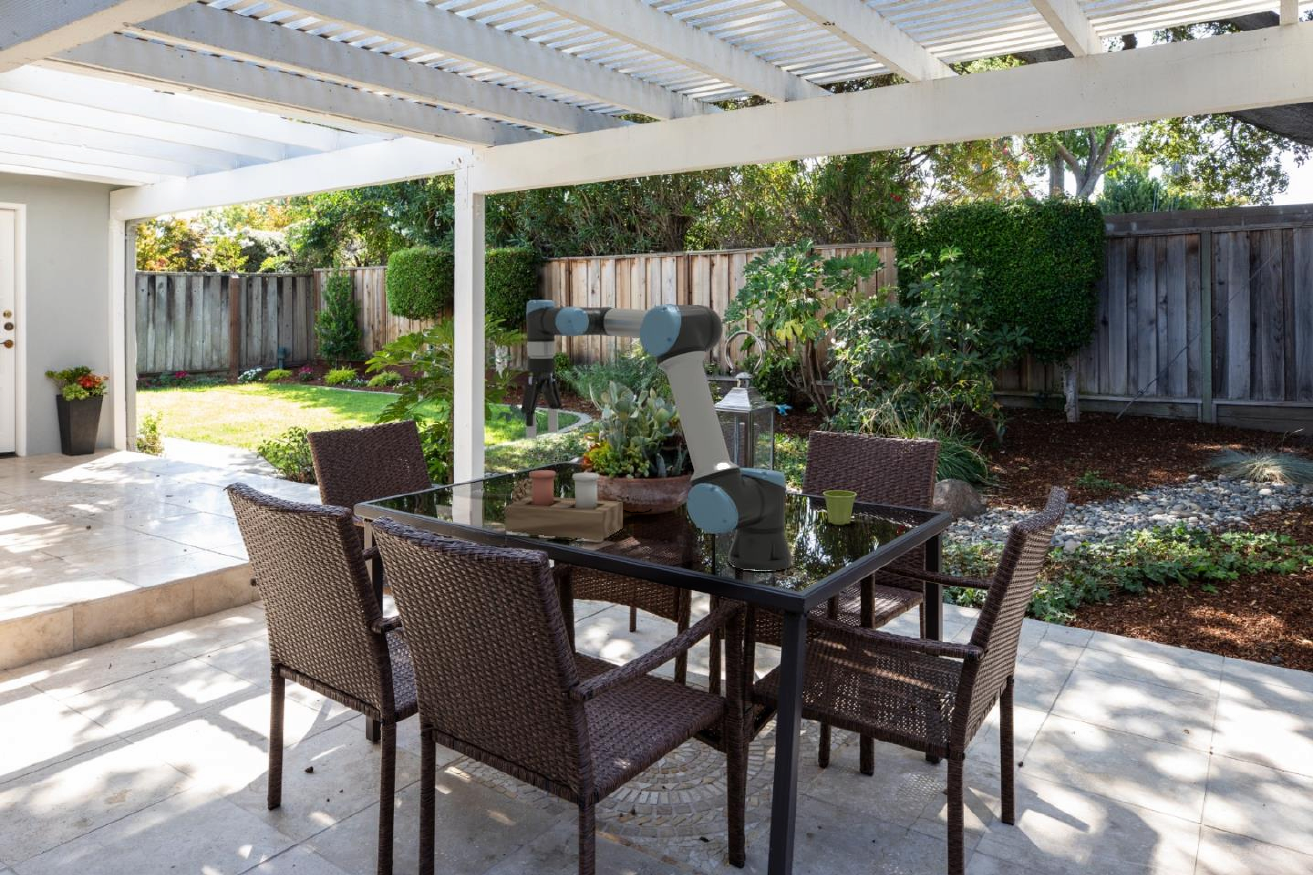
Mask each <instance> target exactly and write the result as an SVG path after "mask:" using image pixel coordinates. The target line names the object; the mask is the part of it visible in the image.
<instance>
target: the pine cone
mask: <svg viewBox="0 0 1313 875" xmlns="http://www.w3.org/2000/svg"><path fill="white" fill-rule="evenodd" d="M520 480H521V481H520ZM520 480H519V481H518V482H519V483H515V484H514V486H513V491H511V497H512V498H513V499H512V500H511V502H512V503H515V502H517V501H520V500H522V499H525V498H527V497H530V496H532V477H529V478H525V479H524V480H523V479H520Z"/></svg>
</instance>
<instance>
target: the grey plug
mask: <svg viewBox="0 0 1313 875" xmlns="http://www.w3.org/2000/svg"><path fill="white" fill-rule="evenodd" d="M572 480H573V481H574V499H575V508H580V509H596V508H597V500H598V480H600V474H599V473H596V472H577V473H576V472H575V473H573V474H572Z"/></svg>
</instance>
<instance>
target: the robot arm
mask: <svg viewBox="0 0 1313 875" xmlns="http://www.w3.org/2000/svg"><path fill="white" fill-rule="evenodd" d="M525 317H526V319H525V320H526V342H527V344H526V351H527V352H526V354H527V357H528V358H527V360H526V361H527V372H529V373H532V374H531V376H526V377H525V378H526V380H525V388H524V393H523V398H522V404H521V408H520V411H521V414H522V415H525V438H526V439H537V437H538V435H537V434H538V433H537V432H538V431H537V414H536V413H535V412H536V409H537V406H538V402H539V400H540V397H541V395H542V394H543V395H544V398H545V400H546V402H547V405H548V407H549V408H547V425H548V426H547V429H548V430H547V432H548V433H559V409H560V410H561V409H562V405H563V404H562V403H563V402H562V398H561V394H560V390H559V386H558V380H557V373H553V372H556V358H555V357H556V338H555V336H557V337H558V336H560V337H562V336H563V337H564V336H565V337H581V336H606V337H620V338H631V339H639V343H640V345H641V347H642V349H643V350H644V352H646V353H647V354H648V355H650V356H652V357H654V358H655V360H656V364H657V367H658V369H659V370H661V371H663V372H665V374H666V375H667V379H668V383H669V386H670V390H671V394H672V398H673V399H674V404H675V407H676V411H677V414H678V419H679V421H680V425H681V429H682V432H683V435H684V440H685V442H686V443H685V444H686V445H687V446H686V447H687V449H688V453H689V456H690V461H691V463H692V466H693V470H694V471H693V474H692V475H691V478H690V480H689V481H690V485H691V489H690V491H689V492H688V494H687V496H688V498H687V499H686V508H687V509H686V510H687V513H688V514H689V518H690V519H691V521H692V522H693V524H694V525H695V526H696V527H698V528H699V529H700V530H702V531H703V532H705V533H708V534H726V533H729V532H732V531H734V530H735V534H734V538H733V540H732V543H731V546H730V548H729V552H728V555H727V556H728V558H727V559H728V560H727V562H728V561H729V562H730V563H731V564H732V565H734V566H736V567H740V568H743V569H755V570H779V569H785V570H787V568H788V569H790V568H791V567H792V564H793V562H792V561H793V557H792V553H791V549H790V545H789V543H788V539H787V537H786V528H785V527H786V496H787V495H786V493H787V492H786V490H787V487H786V475H785V474H784V473H783V472H781V471H778V470H772V469H766V468H765V469H763V468H752V467H740V466H739V465H737V464H735V463H734V462H732V461H731V457H730V454H729V451H728V448H727V445H726V440H725V438H724V433H723V430H722V427H721V424H720V421H719V418H718V413H717V409H716V406H715V403H714V400H713V396H712V392H711V389H710V385H709V382H708V378H707V375H706V372H705V368H704V366H703V361H704V359H705V358H706V356H707V352H710V351H712V350H713V349H714V348H716V346H717V345H718V344H719V343H720V341H721V339H722V336H723V330H724V329H723V322H722V319H721V316H719V314H718V312H716V311H715V310H714V309H713V308H711V307H709V306H706V305H701V304H673V303H667V304H661V305H656V306H653V307H652V308H651V309H636V308H635V309H634V308H622V307H620V308H617V307H610V306H603V307H601V306H598V307H597V306H595V307H588V306H587V307H585V306H584V307H582V306H581V307H578V306H560V307H559V306H558V307H555V302H554V300H551V299H530V300H529V301H527V302H526V314H525ZM790 566H791V567H790Z"/></svg>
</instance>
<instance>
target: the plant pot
mask: <svg viewBox="0 0 1313 875" xmlns="http://www.w3.org/2000/svg"><path fill="white" fill-rule="evenodd" d="M822 493H823V494H822V495H823V496H824V500H825V505H826V512H827V520H828V521H827V522H828V523H829V524H833V525H836V526H844V525H849V524H851V520H852V514H853V513H852V511H853V507H854V503H855V502H854V501H855V499H856V497H857V492H854V491H851V490H850V491H849V490H843V489H842V490H840V489H839V490H836V489H834V490H826V491H824V492H822Z"/></svg>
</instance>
